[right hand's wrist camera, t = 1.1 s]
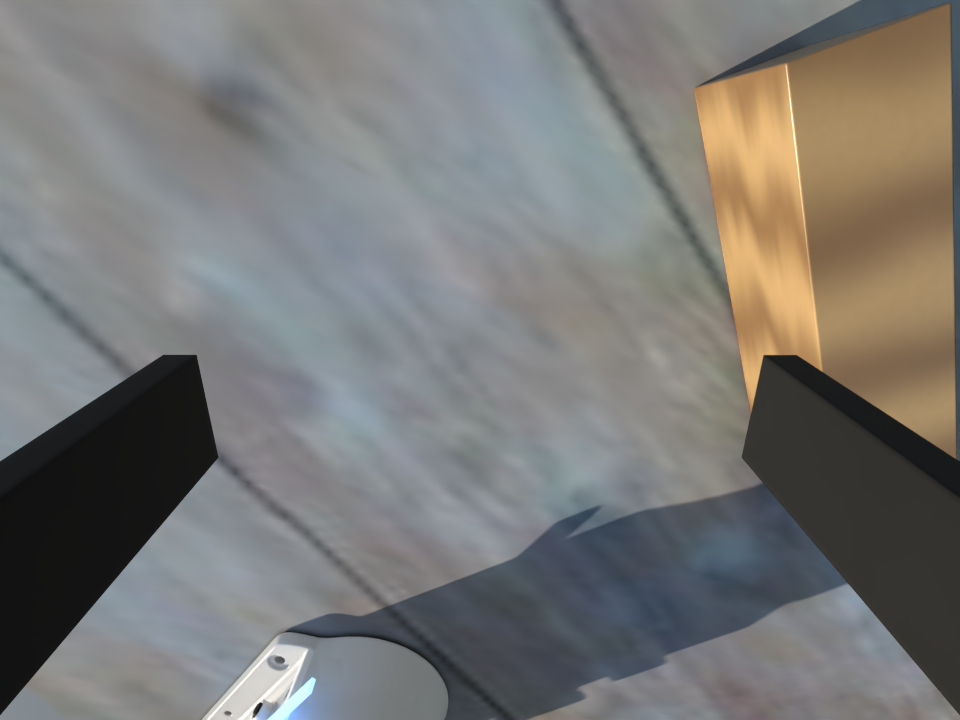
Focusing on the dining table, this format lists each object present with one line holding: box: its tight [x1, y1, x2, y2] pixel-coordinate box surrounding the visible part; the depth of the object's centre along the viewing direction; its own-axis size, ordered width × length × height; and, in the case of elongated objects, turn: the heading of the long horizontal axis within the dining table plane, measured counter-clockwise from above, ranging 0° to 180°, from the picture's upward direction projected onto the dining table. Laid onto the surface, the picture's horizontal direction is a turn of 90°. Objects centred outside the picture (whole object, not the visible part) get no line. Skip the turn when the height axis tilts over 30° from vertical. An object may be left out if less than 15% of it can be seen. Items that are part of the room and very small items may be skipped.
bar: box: [694, 3, 957, 459], centre depth 28 cm, size 26×6×9 cm, turn 19°
